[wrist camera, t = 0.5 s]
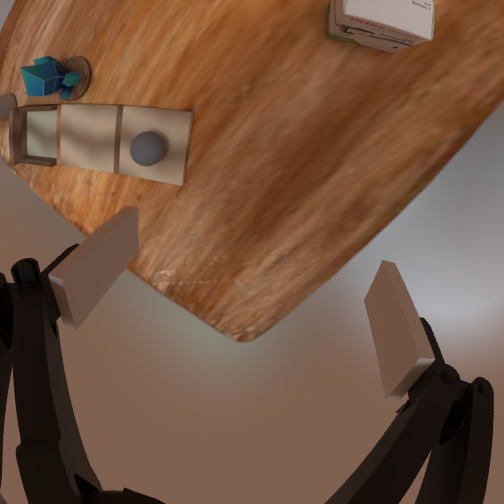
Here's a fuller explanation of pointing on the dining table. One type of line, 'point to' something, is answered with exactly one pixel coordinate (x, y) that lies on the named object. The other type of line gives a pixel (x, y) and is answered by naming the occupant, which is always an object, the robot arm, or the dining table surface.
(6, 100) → the beverage can
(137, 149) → the ball
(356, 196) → the dining table surface
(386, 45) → the ink box
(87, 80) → the gemstone
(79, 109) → the lane
